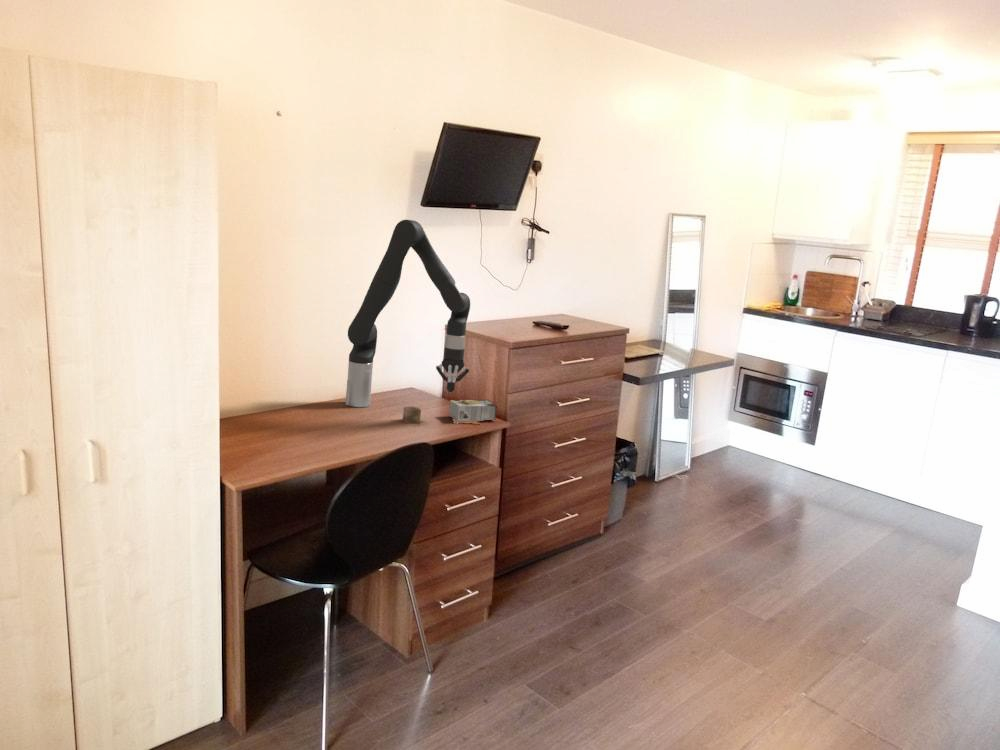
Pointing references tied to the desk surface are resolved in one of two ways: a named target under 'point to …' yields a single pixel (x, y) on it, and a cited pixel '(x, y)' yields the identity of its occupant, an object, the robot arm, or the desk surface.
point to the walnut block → (411, 414)
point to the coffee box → (472, 410)
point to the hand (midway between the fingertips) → (450, 391)
